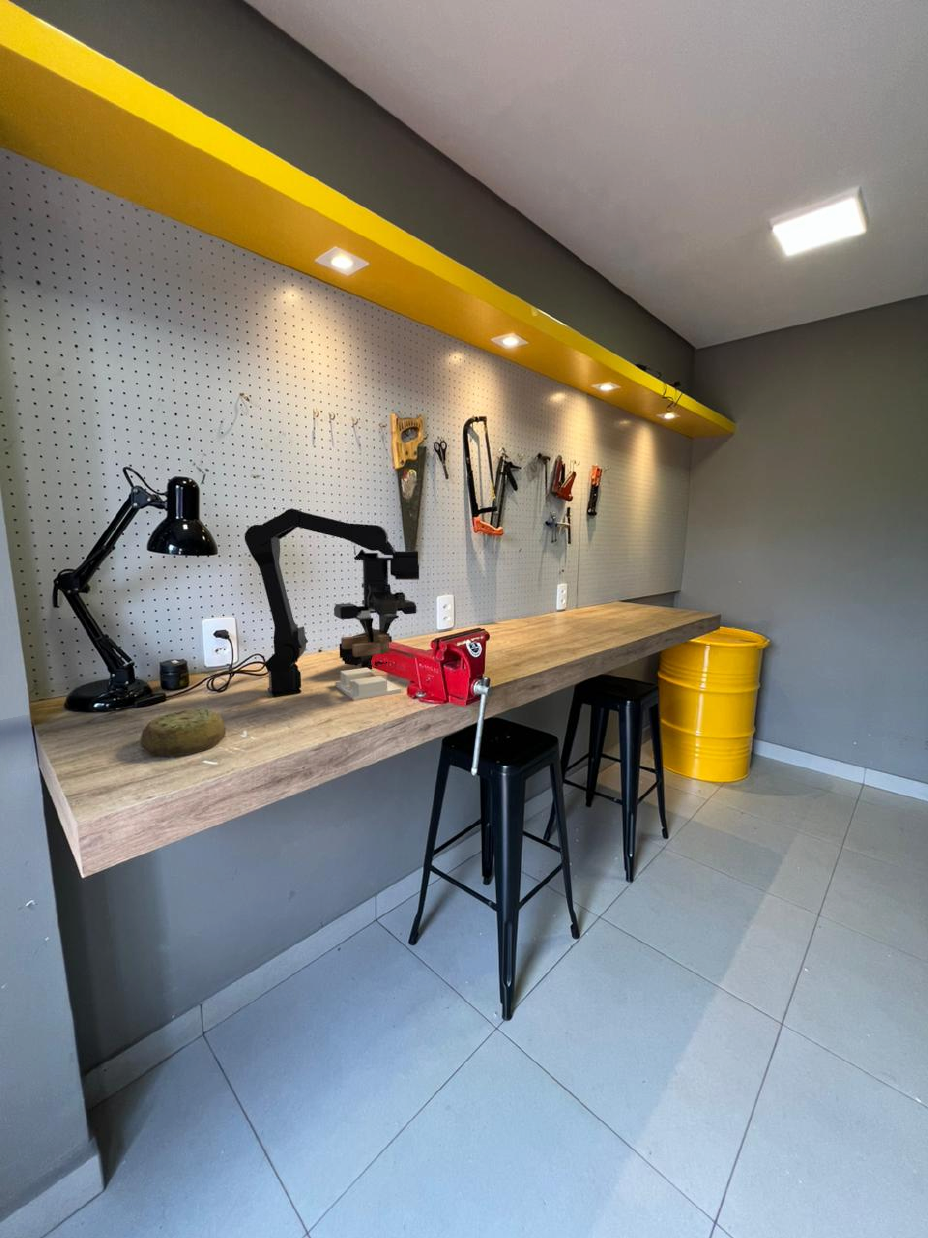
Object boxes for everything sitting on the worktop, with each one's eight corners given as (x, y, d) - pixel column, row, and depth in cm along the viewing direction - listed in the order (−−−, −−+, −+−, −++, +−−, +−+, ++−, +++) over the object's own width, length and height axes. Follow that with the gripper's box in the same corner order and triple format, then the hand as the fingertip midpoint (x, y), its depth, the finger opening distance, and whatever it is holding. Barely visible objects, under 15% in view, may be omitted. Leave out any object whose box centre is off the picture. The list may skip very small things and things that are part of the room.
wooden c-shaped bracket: (355, 656, 110) (354, 639, 110) (341, 647, 119) (341, 631, 118) (389, 652, 115) (389, 635, 114) (373, 644, 123) (373, 628, 122)
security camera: (397, 662, 146) (397, 629, 144) (359, 678, 130) (358, 641, 128) (378, 659, 149) (377, 627, 147) (338, 675, 132) (337, 638, 131)
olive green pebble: (167, 728, 96) (164, 704, 95) (237, 727, 97) (236, 703, 96) (125, 760, 83) (121, 732, 82) (207, 759, 84) (205, 731, 83)
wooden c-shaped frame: (353, 700, 113) (353, 685, 112) (335, 685, 123) (334, 672, 123) (401, 692, 119) (401, 678, 118) (379, 678, 130) (379, 665, 129)
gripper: (347, 584, 104) (349, 656, 107) (426, 581, 113) (426, 647, 116) (332, 579, 113) (334, 646, 116) (406, 577, 123) (407, 638, 125)
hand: (376, 644), depth 118 cm, fingers closed on wooden c-shaped bracket, 2 cm apart
